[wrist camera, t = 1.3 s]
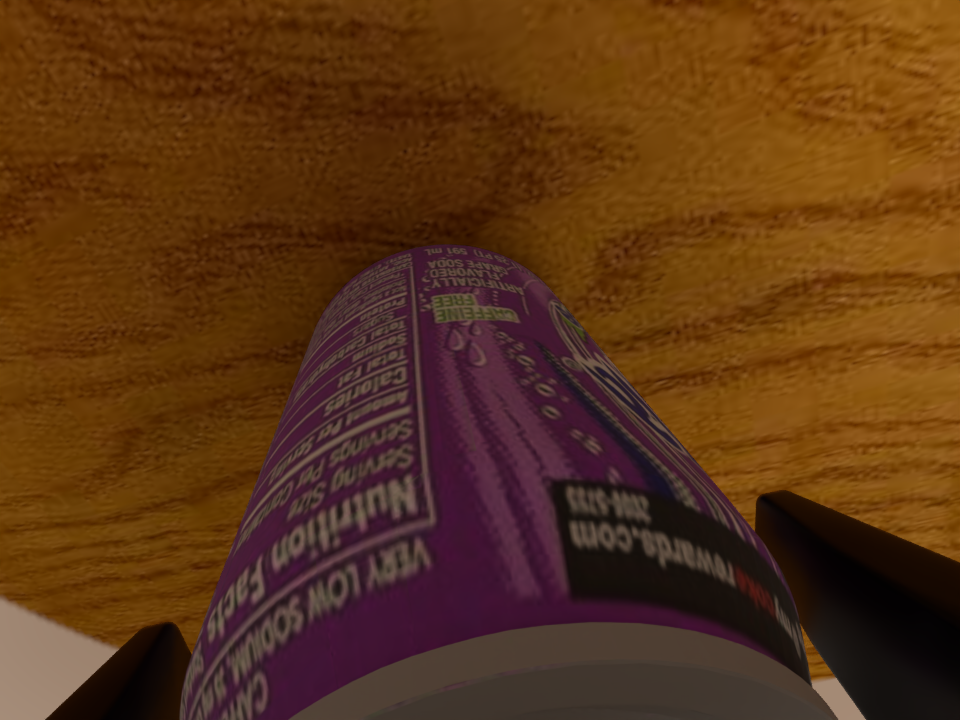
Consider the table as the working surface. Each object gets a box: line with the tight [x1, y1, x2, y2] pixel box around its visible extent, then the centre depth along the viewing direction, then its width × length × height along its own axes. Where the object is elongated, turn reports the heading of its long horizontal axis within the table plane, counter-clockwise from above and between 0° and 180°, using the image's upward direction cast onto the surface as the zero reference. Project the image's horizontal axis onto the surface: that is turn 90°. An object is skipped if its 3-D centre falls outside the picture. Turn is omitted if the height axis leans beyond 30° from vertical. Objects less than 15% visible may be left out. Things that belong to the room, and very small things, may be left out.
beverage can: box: [180, 245, 838, 720], centre depth 11 cm, size 7×7×12 cm
